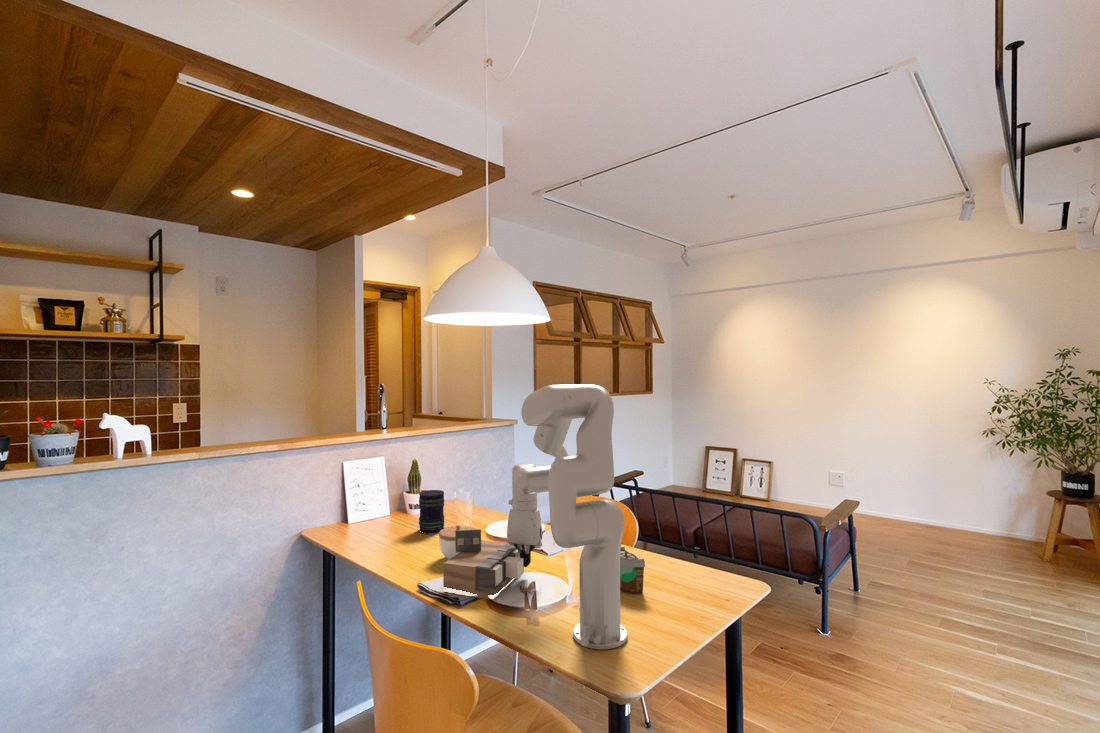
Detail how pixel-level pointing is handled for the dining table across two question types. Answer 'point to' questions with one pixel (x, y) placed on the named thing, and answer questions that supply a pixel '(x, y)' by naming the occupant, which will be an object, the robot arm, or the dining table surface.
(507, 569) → the button mid
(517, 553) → the button
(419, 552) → the dining table surface
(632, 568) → the food container
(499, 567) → the button
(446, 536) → the lidded bowl
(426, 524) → the storage jar
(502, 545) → the console
